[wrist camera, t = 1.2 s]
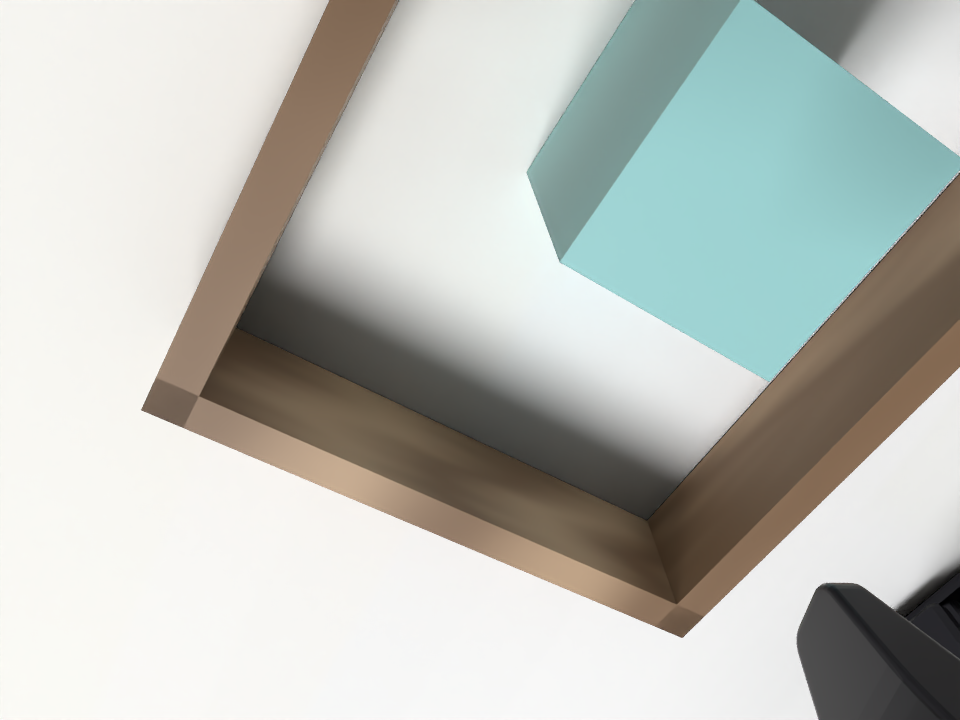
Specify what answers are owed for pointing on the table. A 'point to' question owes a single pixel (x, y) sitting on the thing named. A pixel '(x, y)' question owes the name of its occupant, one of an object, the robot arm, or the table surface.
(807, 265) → the teal block
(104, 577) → the table surface
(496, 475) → the wooden u-shaped frame
